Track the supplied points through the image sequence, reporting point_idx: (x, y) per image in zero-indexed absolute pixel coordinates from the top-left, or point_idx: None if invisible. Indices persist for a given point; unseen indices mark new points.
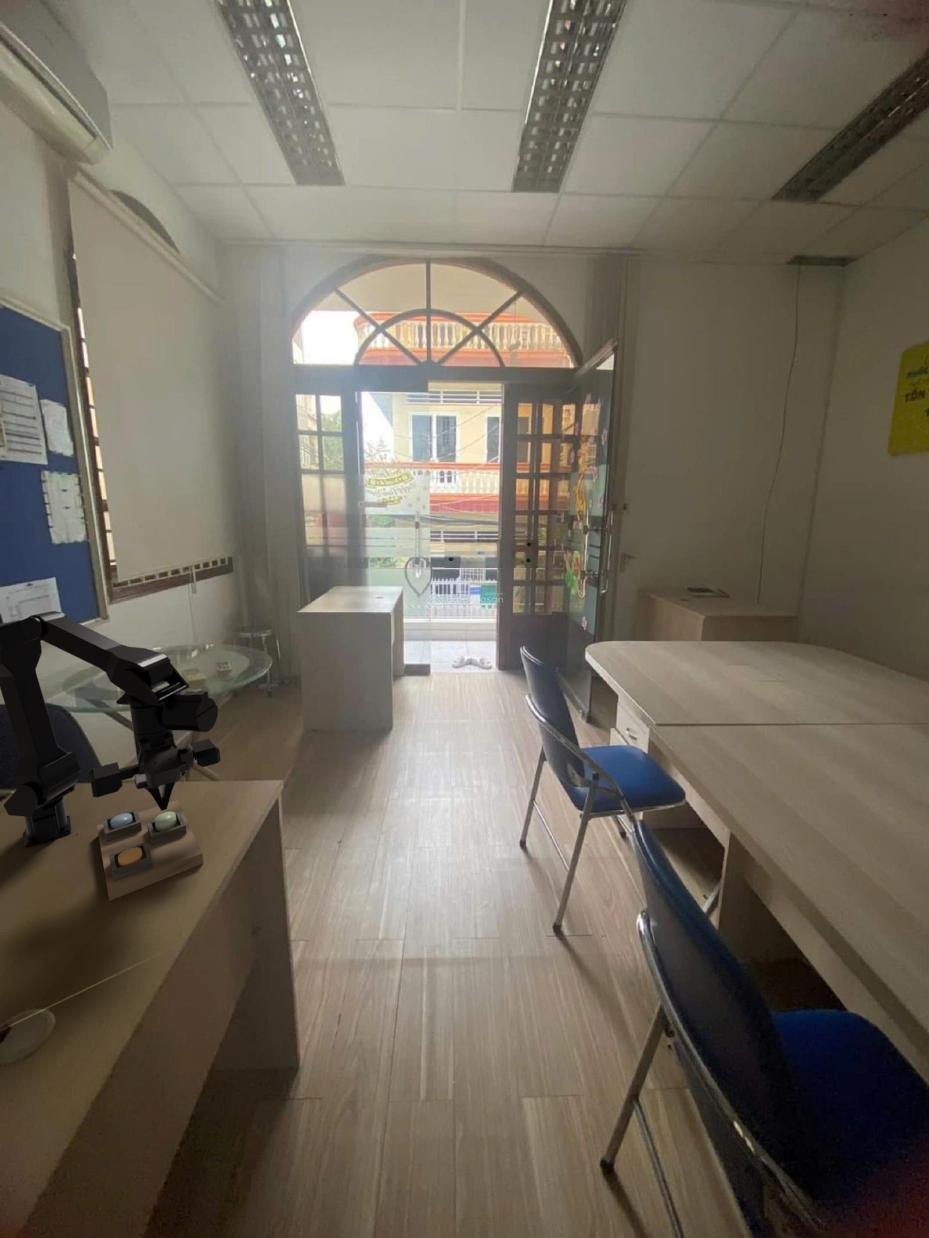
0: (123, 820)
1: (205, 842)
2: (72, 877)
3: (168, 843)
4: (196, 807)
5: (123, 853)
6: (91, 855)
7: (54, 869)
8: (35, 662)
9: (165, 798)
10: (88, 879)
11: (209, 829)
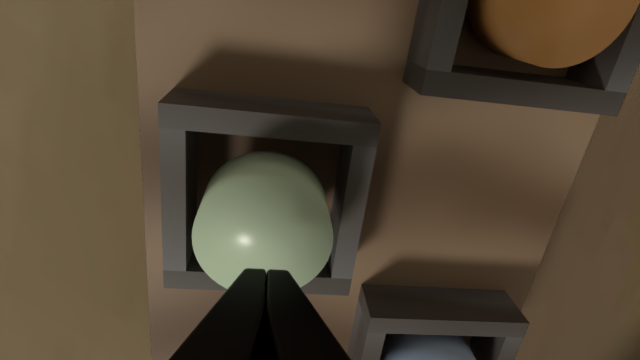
0: None
1: (99, 12)
2: (623, 188)
3: (293, 56)
4: (94, 345)
5: (593, 32)
6: None
7: (629, 278)
8: None
9: (236, 347)
10: (599, 130)
11: (59, 126)
